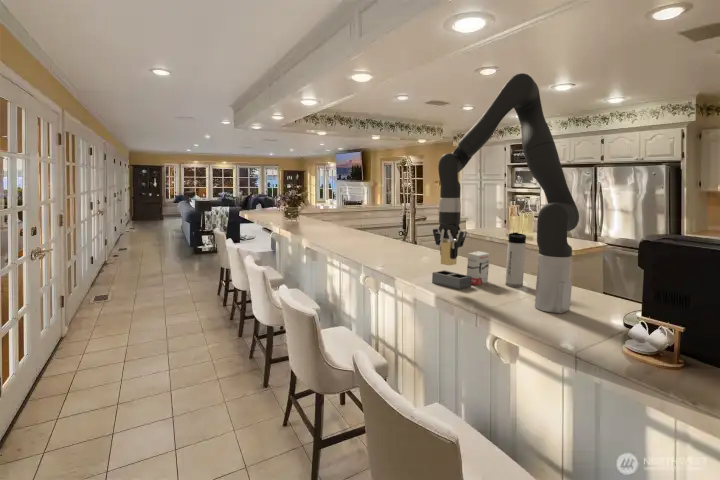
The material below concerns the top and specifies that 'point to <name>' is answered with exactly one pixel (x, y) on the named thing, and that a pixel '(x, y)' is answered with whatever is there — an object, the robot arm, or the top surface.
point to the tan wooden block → (447, 254)
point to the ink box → (478, 267)
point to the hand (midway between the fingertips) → (448, 257)
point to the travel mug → (515, 260)
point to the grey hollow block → (451, 279)
